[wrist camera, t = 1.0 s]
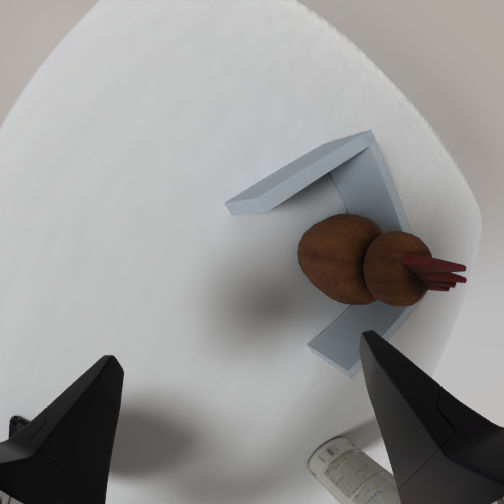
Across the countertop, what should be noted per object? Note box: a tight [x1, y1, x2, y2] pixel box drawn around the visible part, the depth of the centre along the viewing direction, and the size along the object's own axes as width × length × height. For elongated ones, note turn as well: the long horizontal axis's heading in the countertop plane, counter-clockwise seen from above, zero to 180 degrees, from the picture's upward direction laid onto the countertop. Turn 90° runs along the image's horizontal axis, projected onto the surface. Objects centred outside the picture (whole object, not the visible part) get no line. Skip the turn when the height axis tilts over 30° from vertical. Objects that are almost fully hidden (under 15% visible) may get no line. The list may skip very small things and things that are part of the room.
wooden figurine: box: [297, 214, 467, 307], centre depth 19 cm, size 7×6×15 cm
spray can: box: [308, 437, 401, 504], centre depth 21 cm, size 7×7×20 cm
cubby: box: [225, 130, 427, 378], centre depth 23 cm, size 11×16×6 cm
